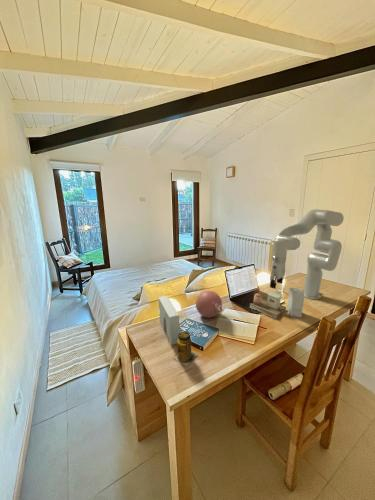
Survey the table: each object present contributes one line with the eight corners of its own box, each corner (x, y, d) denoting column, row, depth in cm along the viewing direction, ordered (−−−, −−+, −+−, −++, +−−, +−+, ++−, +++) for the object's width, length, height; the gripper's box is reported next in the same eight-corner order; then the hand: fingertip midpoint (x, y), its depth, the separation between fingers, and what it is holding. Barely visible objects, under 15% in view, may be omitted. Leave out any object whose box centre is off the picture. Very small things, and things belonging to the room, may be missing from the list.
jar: (255, 301, 139) (256, 292, 137) (262, 304, 136) (263, 294, 134) (252, 304, 136) (252, 294, 134) (258, 306, 133) (259, 297, 131)
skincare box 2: (301, 317, 125) (305, 294, 121) (289, 316, 126) (293, 292, 122) (297, 310, 133) (301, 287, 129) (286, 309, 134) (289, 286, 130)
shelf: (260, 300, 145) (260, 296, 144) (285, 309, 133) (286, 305, 133) (249, 308, 135) (249, 303, 134) (275, 319, 123) (276, 314, 122)
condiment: (173, 358, 94) (173, 335, 91) (185, 348, 100) (185, 326, 97) (185, 366, 89) (186, 342, 86) (198, 355, 95) (198, 332, 92)
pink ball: (206, 330, 113) (207, 304, 109) (191, 311, 131) (191, 288, 127) (230, 324, 118) (232, 299, 114) (213, 306, 136) (214, 284, 132)
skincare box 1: (158, 321, 120) (157, 296, 116) (167, 319, 122) (167, 294, 118) (169, 346, 101) (169, 316, 97) (180, 343, 103) (180, 314, 99)
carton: (279, 307, 132) (281, 295, 130) (276, 310, 129) (277, 298, 127) (269, 303, 137) (270, 292, 135) (266, 306, 134) (267, 294, 132)
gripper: (279, 264, 116) (276, 292, 121) (291, 256, 128) (287, 282, 133) (266, 261, 121) (263, 288, 126) (278, 254, 133) (276, 279, 138)
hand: (276, 285), depth 129 cm, fingers open, 9 cm apart
